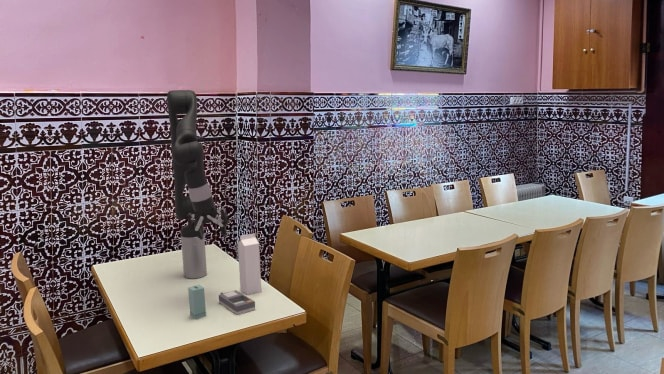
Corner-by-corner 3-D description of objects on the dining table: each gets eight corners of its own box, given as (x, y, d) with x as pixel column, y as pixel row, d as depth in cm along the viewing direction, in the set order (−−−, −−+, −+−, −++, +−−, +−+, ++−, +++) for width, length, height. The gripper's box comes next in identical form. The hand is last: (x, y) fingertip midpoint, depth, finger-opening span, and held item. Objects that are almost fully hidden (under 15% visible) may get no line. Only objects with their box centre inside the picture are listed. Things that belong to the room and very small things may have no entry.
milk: (261, 291, 209) (259, 235, 205) (246, 295, 206) (243, 237, 202) (254, 286, 214) (252, 231, 210) (240, 290, 211) (237, 234, 207)
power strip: (213, 298, 203) (212, 290, 202) (230, 294, 207) (229, 285, 207) (236, 314, 188) (236, 305, 187) (255, 309, 192) (254, 300, 192)
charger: (190, 315, 189) (187, 287, 187) (201, 312, 191) (199, 284, 189) (194, 319, 185) (192, 290, 184) (206, 315, 188) (204, 287, 186)
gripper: (222, 189, 201) (233, 229, 206) (185, 195, 202) (197, 235, 208) (218, 197, 194) (229, 238, 199) (179, 203, 195) (191, 244, 201)
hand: (213, 236), depth 204 cm, fingers open, 8 cm apart
